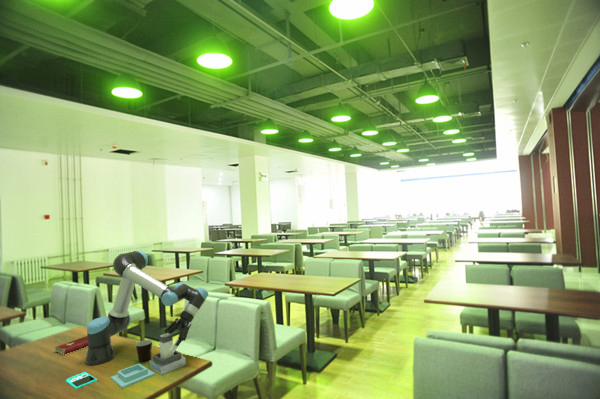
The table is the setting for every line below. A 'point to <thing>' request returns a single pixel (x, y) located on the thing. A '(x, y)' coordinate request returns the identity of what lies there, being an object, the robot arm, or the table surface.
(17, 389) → the table surface
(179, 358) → the upper socket stand
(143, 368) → the lower socket plate
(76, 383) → the handheld game console
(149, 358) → the coffee mug
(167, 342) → the plug block
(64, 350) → the hardcover book
